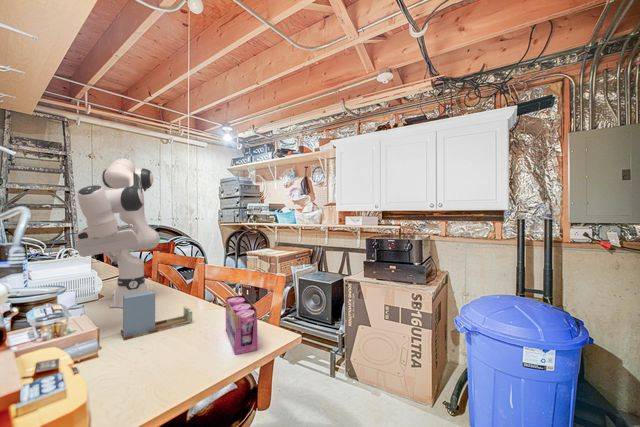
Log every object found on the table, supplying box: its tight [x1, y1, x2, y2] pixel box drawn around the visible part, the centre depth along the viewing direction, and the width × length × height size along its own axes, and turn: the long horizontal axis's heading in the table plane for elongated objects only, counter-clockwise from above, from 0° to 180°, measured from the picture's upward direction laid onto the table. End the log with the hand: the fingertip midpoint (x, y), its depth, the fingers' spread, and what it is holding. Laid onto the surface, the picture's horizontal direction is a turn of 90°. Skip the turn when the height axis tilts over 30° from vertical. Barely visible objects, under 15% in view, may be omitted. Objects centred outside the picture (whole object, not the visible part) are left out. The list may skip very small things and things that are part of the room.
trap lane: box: [120, 306, 193, 341], centre depth 112 cm, size 9×24×6 cm, turn 132°
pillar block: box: [122, 290, 156, 337], centre depth 108 cm, size 5×10×15 cm, turn 132°
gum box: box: [225, 294, 258, 355], centre depth 103 cm, size 24×8×14 cm, turn 27°
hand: (116, 260), depth 109 cm, fingers closed
